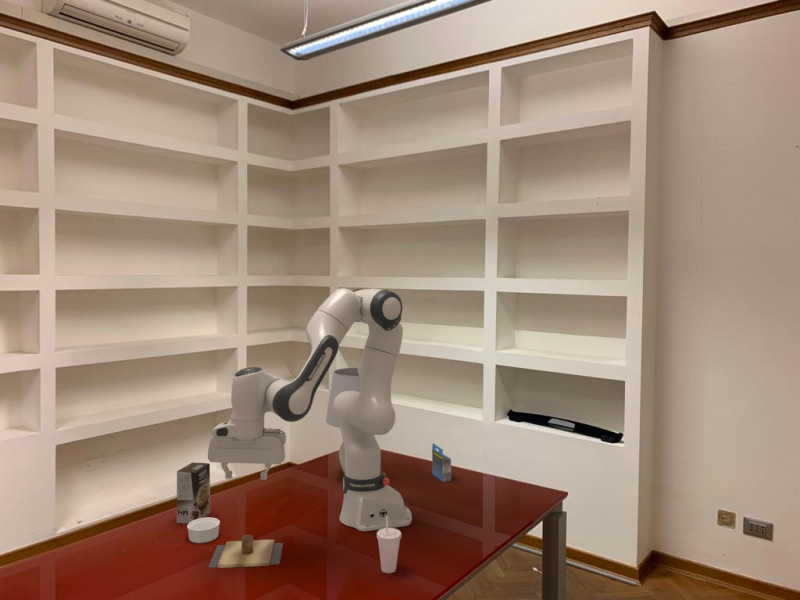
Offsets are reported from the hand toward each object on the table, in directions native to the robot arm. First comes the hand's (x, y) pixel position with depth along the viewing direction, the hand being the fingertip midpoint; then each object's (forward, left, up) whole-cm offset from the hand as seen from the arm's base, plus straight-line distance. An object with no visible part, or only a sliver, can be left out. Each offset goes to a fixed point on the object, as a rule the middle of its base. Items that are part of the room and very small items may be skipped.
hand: (246, 478), depth 158 cm
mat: (-1, +2, -21) cm, 21 cm away
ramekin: (+13, -10, -21) cm, 27 cm away
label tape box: (-64, -52, -21) cm, 85 cm away
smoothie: (-38, +12, -21) cm, 45 cm away
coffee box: (+19, -24, -21) cm, 37 cm away
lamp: (-33, -54, -21) cm, 67 cm away
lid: (-1, +2, -20) cm, 20 cm away
